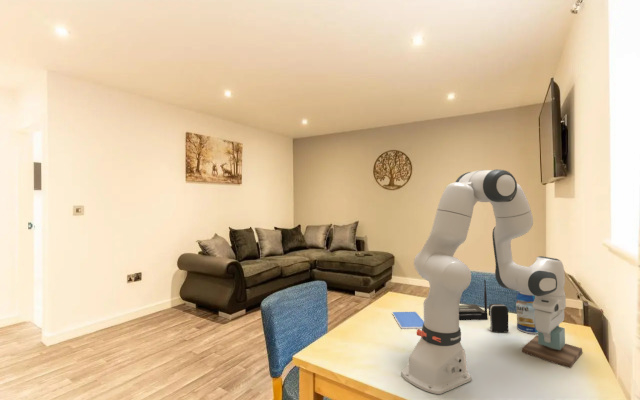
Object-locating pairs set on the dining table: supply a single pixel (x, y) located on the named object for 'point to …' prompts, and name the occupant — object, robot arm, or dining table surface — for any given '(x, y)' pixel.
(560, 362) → the stub plate
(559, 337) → the sage green cube
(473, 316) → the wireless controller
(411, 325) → the tablet computer
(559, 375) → the dining table surface
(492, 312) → the battery charger
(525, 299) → the beverage bottle
